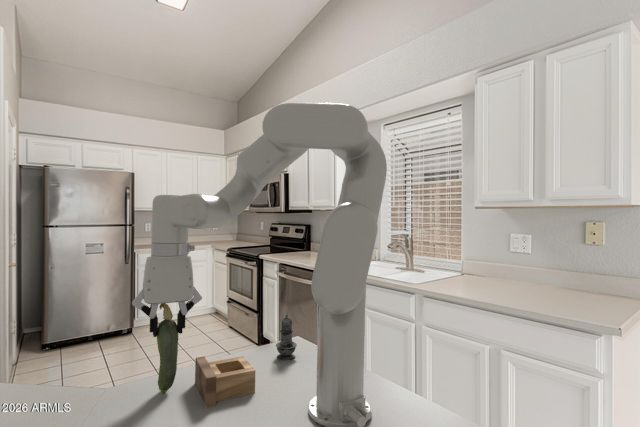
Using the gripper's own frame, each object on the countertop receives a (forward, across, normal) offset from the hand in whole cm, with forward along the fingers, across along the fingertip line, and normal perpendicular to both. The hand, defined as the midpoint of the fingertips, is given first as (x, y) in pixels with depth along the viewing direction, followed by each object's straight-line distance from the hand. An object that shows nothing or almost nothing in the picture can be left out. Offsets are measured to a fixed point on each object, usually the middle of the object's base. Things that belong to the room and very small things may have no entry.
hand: (167, 332), depth 78 cm
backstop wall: (+13, -8, +4) cm, 16 cm away
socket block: (+13, -13, +4) cm, 19 cm away
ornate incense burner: (+14, -32, -7) cm, 35 cm away
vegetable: (+14, 0, 0) cm, 14 cm away
